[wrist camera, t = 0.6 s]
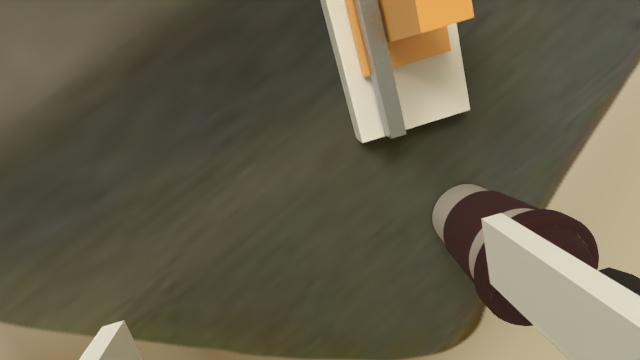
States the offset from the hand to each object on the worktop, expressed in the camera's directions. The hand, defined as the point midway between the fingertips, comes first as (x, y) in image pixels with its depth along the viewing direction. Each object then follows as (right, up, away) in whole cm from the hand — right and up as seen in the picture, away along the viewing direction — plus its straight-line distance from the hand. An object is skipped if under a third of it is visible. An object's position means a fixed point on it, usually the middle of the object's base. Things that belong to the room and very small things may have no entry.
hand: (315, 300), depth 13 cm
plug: (+6, +19, +22) cm, 30 cm away
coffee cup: (+16, +1, +29) cm, 33 cm away
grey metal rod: (+4, +18, +18) cm, 26 cm away
